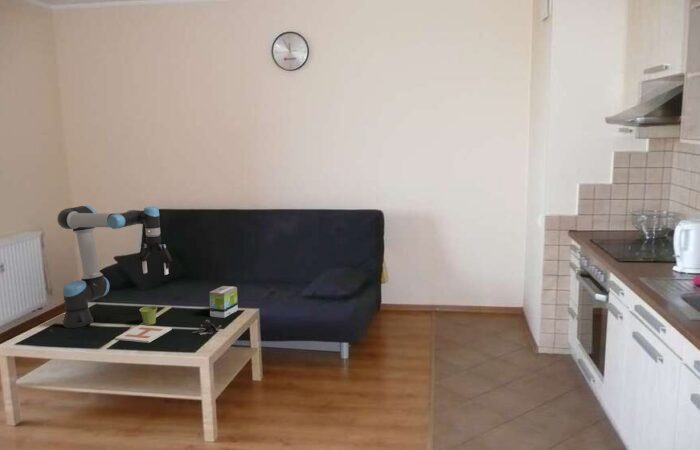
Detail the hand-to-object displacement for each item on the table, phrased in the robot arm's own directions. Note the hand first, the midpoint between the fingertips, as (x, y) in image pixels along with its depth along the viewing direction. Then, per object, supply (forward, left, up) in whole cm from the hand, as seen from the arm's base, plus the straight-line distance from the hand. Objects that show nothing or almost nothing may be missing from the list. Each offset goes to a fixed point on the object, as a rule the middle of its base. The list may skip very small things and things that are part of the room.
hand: (155, 273), depth 310 cm
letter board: (+2, -17, -29) cm, 33 cm away
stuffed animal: (+32, -4, -29) cm, 44 cm away
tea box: (+27, +24, -29) cm, 46 cm away
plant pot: (-6, -1, -29) cm, 29 cm away
